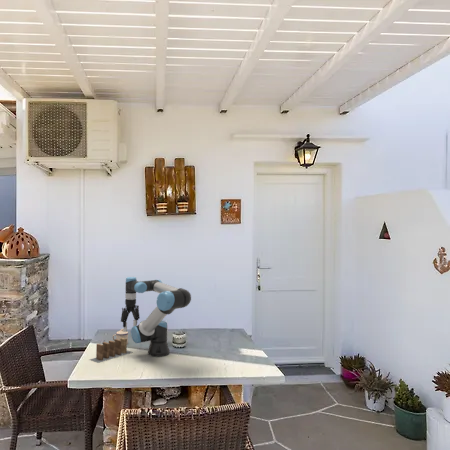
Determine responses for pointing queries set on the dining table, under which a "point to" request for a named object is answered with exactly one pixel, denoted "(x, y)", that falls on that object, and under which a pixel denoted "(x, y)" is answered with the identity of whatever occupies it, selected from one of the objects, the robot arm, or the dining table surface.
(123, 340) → the lead tile
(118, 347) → the tile
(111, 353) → the tile
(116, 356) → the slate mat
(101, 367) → the dining table surface
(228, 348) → the dining table surface
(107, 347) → the tile
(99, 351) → the tile
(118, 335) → the teacup with lid
